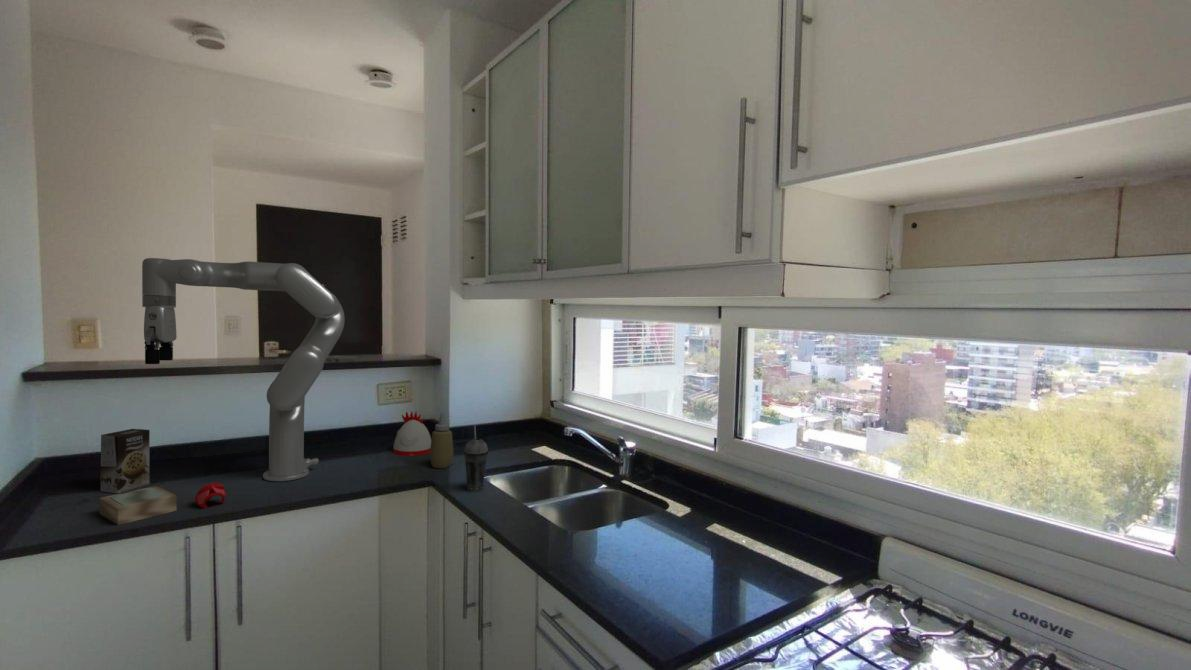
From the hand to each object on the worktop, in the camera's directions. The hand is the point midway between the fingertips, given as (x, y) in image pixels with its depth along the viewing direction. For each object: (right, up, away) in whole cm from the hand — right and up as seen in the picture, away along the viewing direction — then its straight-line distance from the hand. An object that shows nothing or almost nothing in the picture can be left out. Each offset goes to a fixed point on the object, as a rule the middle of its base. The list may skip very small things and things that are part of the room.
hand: (159, 362), depth 158 cm
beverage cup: (+88, -39, +9) cm, 97 cm away
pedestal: (+8, -37, -17) cm, 42 cm away
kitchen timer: (+56, -36, +50) cm, 83 cm away
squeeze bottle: (+72, -38, +32) cm, 87 cm away
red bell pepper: (+22, -38, -10) cm, 45 cm away
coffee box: (-10, -36, 0) cm, 37 cm away
